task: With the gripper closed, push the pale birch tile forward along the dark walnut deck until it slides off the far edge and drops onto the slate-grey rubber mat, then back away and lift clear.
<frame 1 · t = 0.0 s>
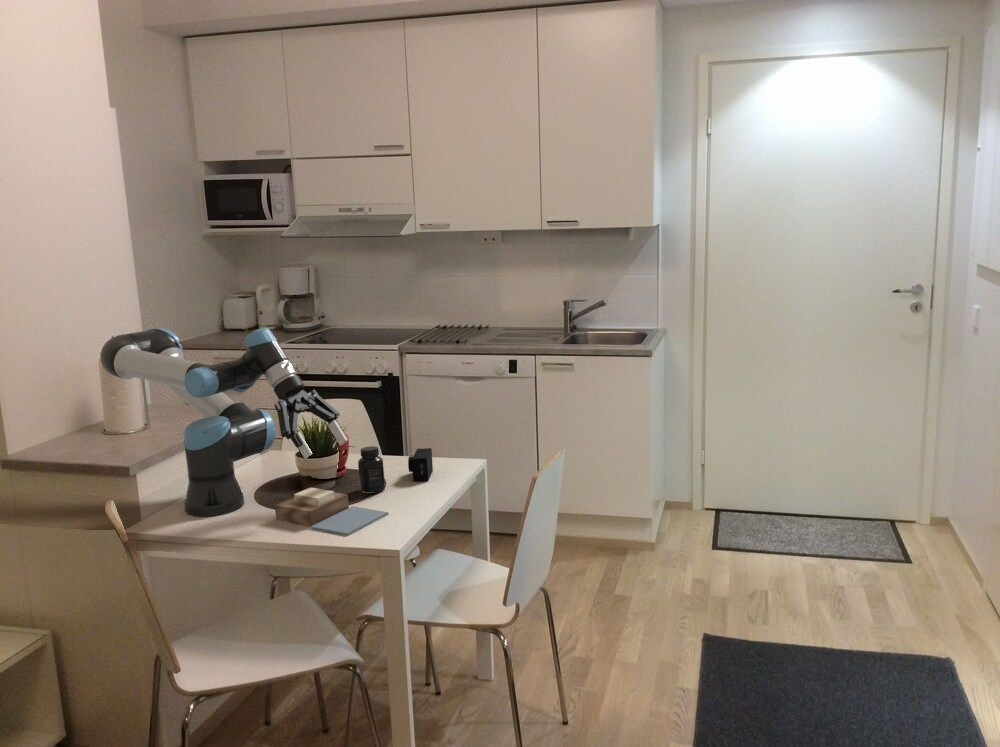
hand: (327, 449, 232), 15 cm above the table, tool tilted 35°, fingers open, 13 cm apart
supplement bottle: (372, 491, 246), on the table
rubber mat: (350, 521, 223), on the table
birch tile: (314, 500, 227), point 4 cm above the table, touching walnut deck
plant pot: (328, 476, 262), on the table
digital camera: (421, 477, 257), on the table
walnut deck: (313, 514, 229), on the table
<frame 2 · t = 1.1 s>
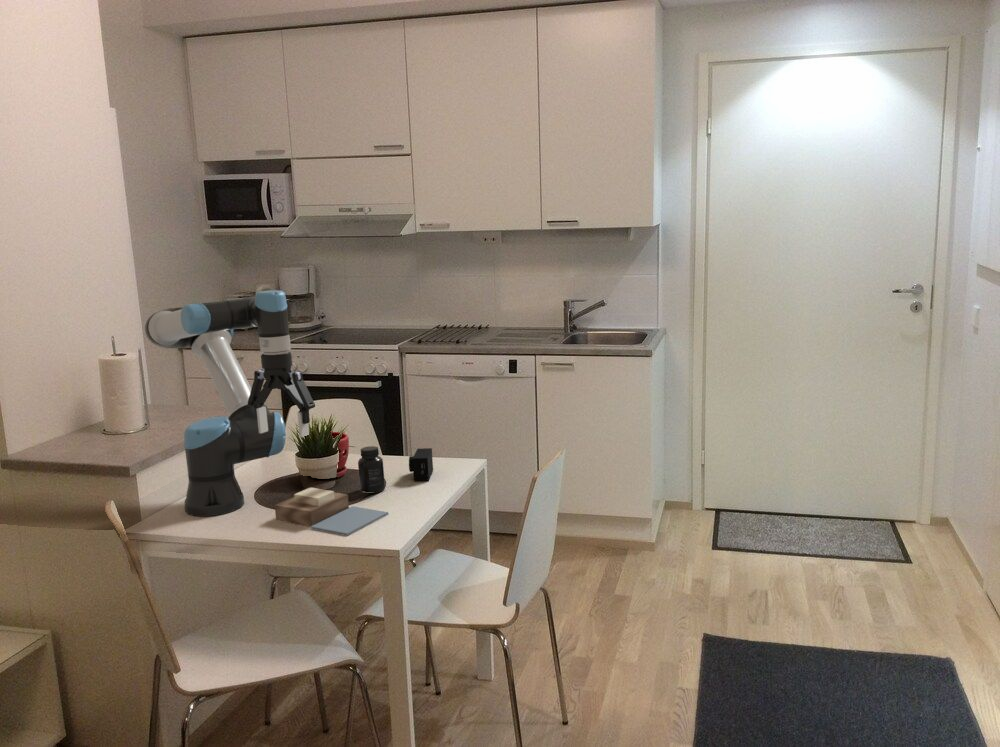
hand: (283, 434, 229), 20 cm above the table, tool pointing down, fingers open, 13 cm apart
nothing on the table moved.
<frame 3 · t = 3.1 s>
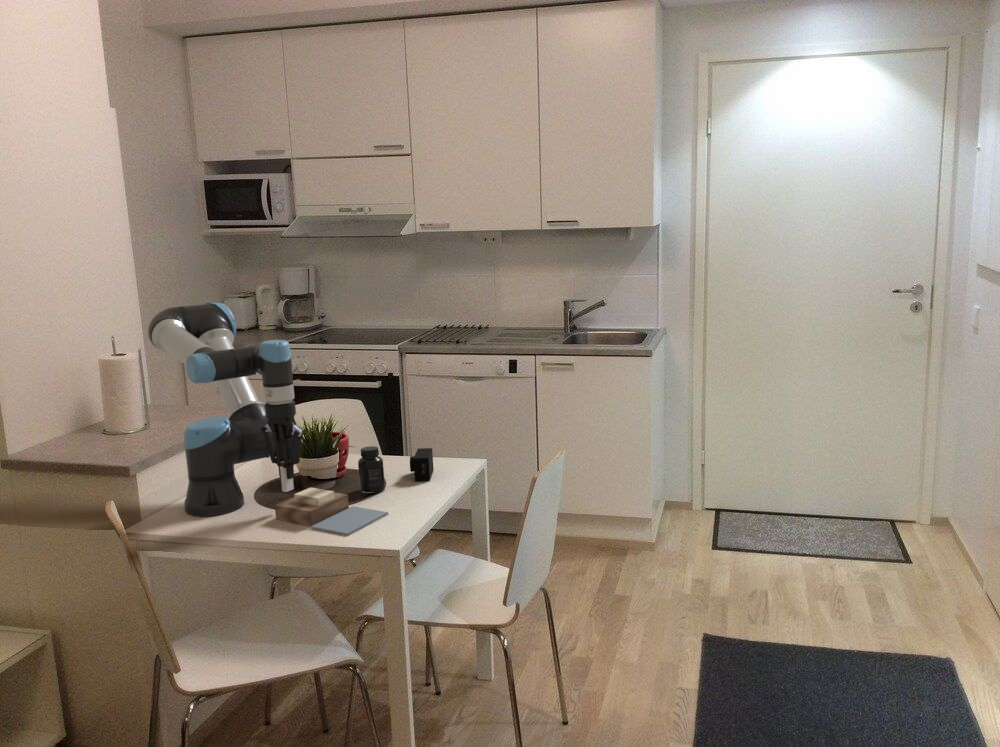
hand: (288, 490, 231), 6 cm above the table, tool pointing down, fingers closed
nothing on the table moved.
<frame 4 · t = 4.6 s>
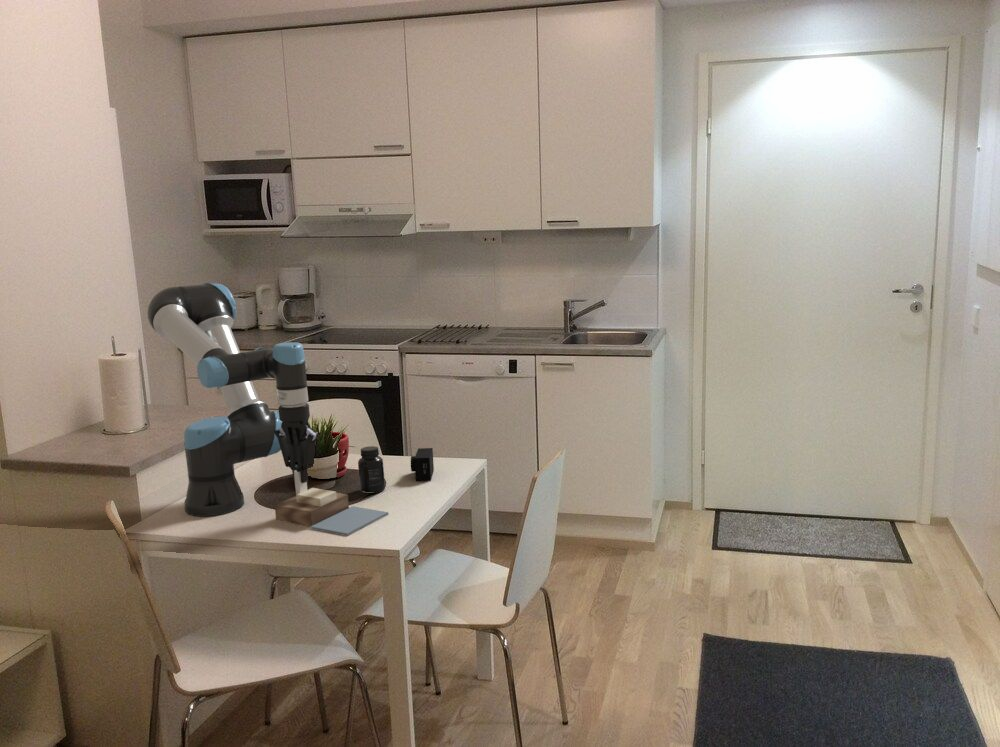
hand: (301, 494, 229), 5 cm above the table, tool pointing down, fingers closed
birch tile: (316, 500, 227), point 4 cm above the table, touching gripper, walnut deck
everything else where it was.
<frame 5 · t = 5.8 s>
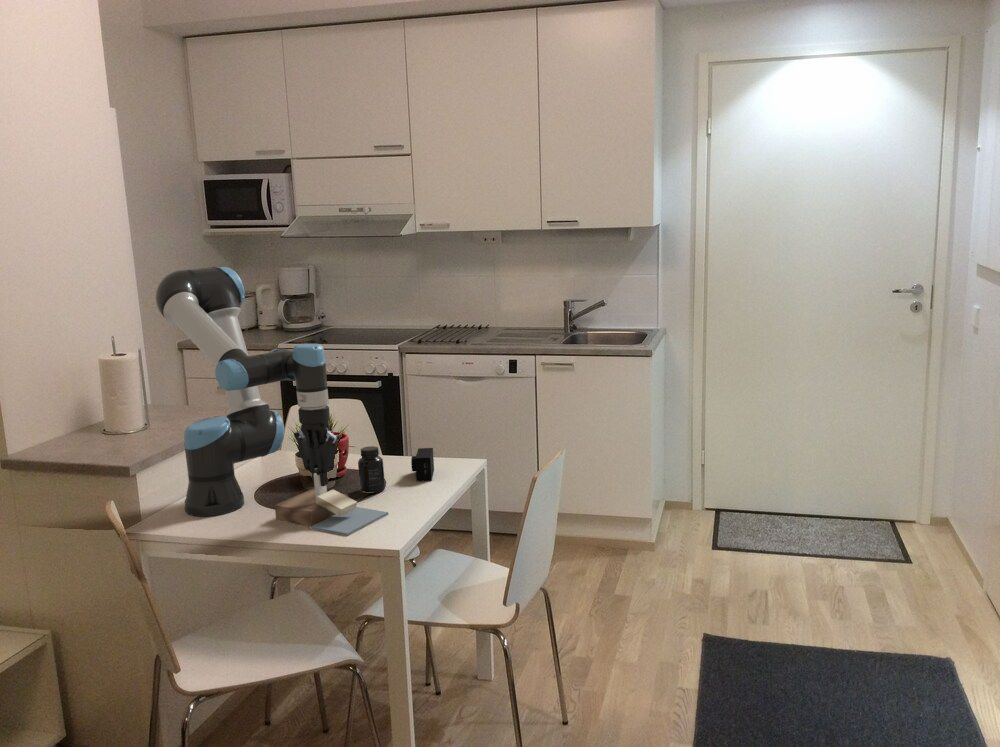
hand: (321, 497, 226), 5 cm above the table, tool pointing down, fingers closed
birch tile: (335, 506, 224), point 3 cm above the table, tilted 17°, touching gripper, walnut deck
everything else where it was.
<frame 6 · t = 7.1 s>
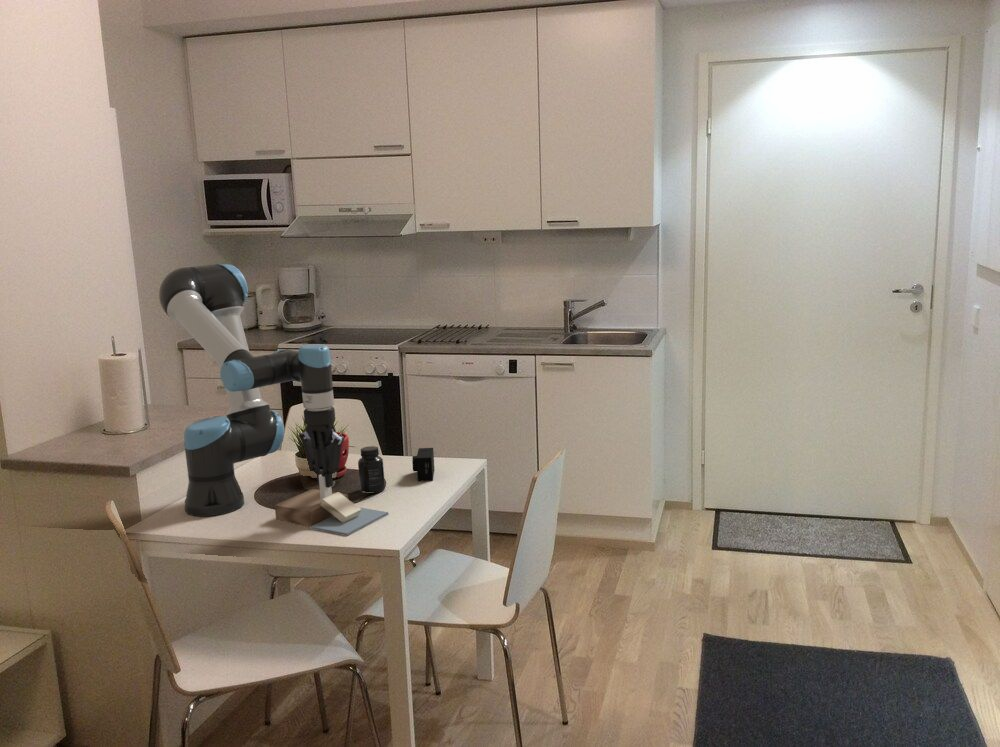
hand: (326, 498, 225), 5 cm above the table, tool pointing down, fingers closed
birch tile: (339, 510, 224), point 2 cm above the table, tilted 27°, touching gripper, rubber mat, walnut deck
everything else where it was.
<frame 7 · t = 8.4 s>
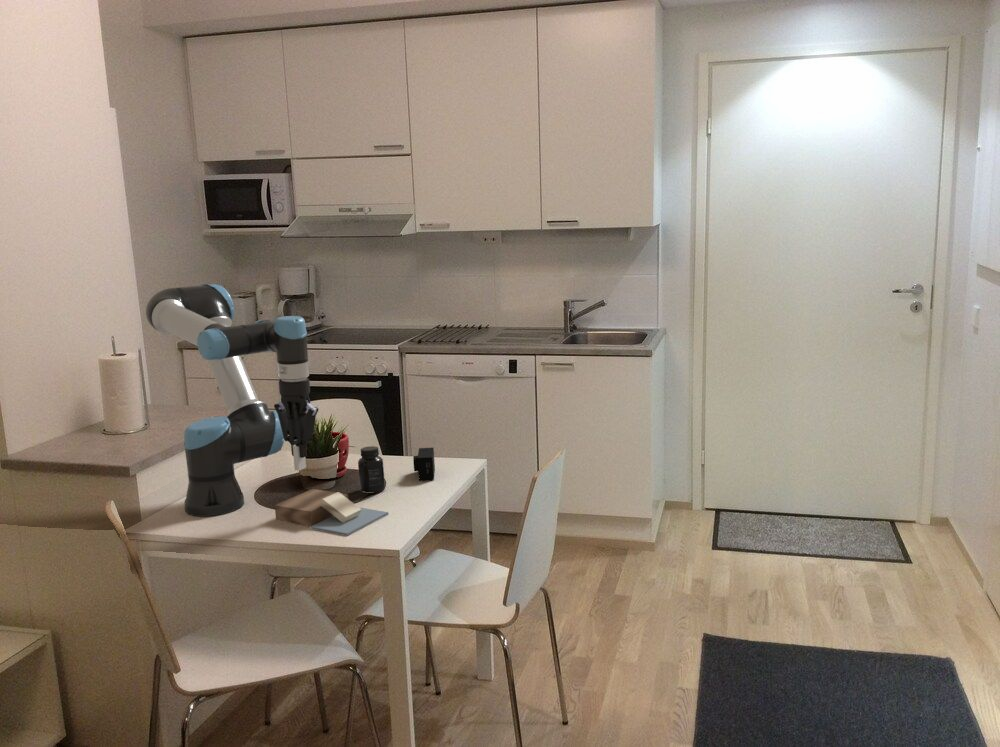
hand: (300, 468, 228), 12 cm above the table, tool pointing down, fingers closed
birch tile: (339, 510, 224), point 2 cm above the table, tilted 27°, touching rubber mat, walnut deck
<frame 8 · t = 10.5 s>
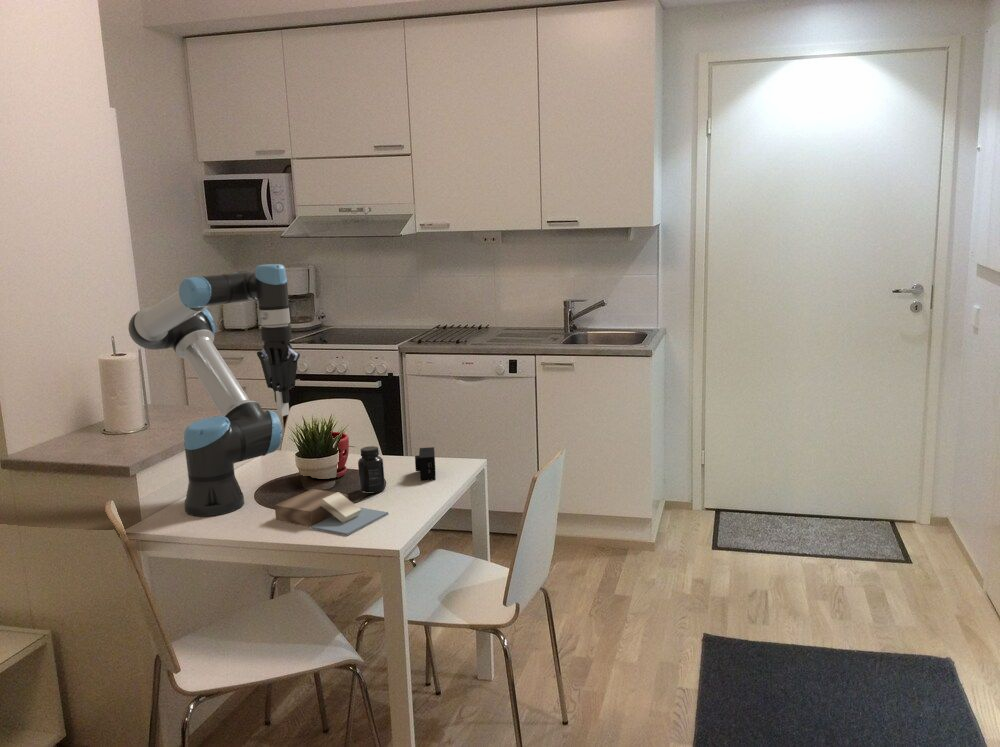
hand: (283, 414, 233), 24 cm above the table, tool pointing down, fingers closed
at the end: birch tile inside the target area on the rubber mat (3.2 cm from its centre), point 2.4 cm above the rubber mat's base; birch tile touching rubber mat, walnut deck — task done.
